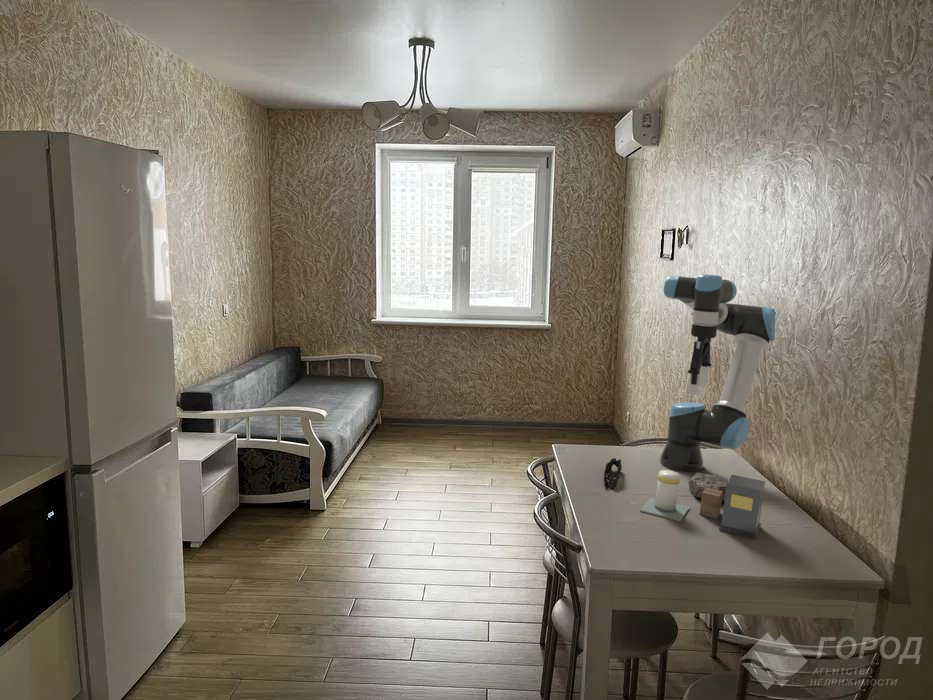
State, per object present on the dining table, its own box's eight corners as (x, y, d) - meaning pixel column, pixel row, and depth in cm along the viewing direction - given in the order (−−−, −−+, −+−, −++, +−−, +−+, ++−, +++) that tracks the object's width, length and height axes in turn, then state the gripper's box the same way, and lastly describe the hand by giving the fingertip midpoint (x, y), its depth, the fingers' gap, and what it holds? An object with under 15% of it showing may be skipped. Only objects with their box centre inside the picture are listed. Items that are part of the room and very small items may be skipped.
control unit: (725, 517, 201) (730, 473, 198) (761, 526, 196) (767, 480, 193) (718, 529, 192) (724, 483, 189) (756, 539, 187) (762, 491, 184)
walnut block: (702, 509, 207) (705, 487, 205) (719, 513, 204) (722, 491, 203) (699, 514, 202) (702, 492, 201) (716, 518, 200) (719, 496, 199)
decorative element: (617, 491, 218) (619, 474, 217) (601, 489, 219) (603, 471, 218) (621, 470, 239) (623, 454, 238) (607, 468, 240) (609, 452, 239)
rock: (685, 486, 226) (694, 505, 211) (687, 468, 225) (696, 485, 210) (724, 489, 225) (736, 508, 210) (726, 471, 223) (738, 488, 209)
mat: (650, 499, 212) (650, 497, 212) (689, 508, 206) (689, 507, 206) (639, 511, 202) (639, 509, 202) (680, 521, 196) (680, 520, 196)
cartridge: (657, 502, 208) (661, 468, 206) (677, 507, 205) (682, 473, 203) (652, 508, 203) (656, 474, 201) (672, 514, 200) (677, 479, 198)
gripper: (700, 318, 223) (693, 381, 227) (683, 327, 202) (676, 395, 206) (724, 321, 219) (717, 384, 223) (709, 330, 198) (702, 399, 202)
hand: (697, 390), depth 214 cm, fingers open, 13 cm apart
